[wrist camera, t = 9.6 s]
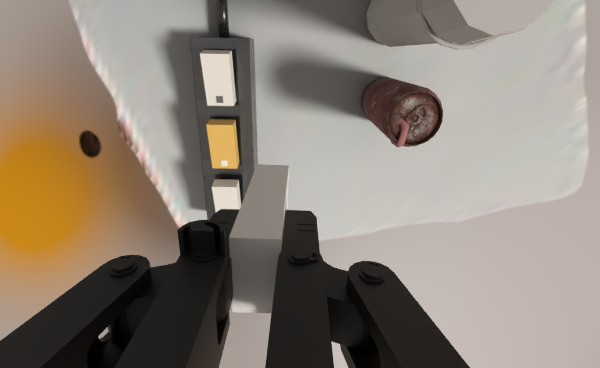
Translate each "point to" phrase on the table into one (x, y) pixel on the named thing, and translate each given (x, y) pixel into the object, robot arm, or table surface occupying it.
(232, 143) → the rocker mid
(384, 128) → the can
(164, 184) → the table surface
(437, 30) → the water bottle
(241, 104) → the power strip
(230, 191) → the rocker
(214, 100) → the rocker
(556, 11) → the table surface
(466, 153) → the table surface
